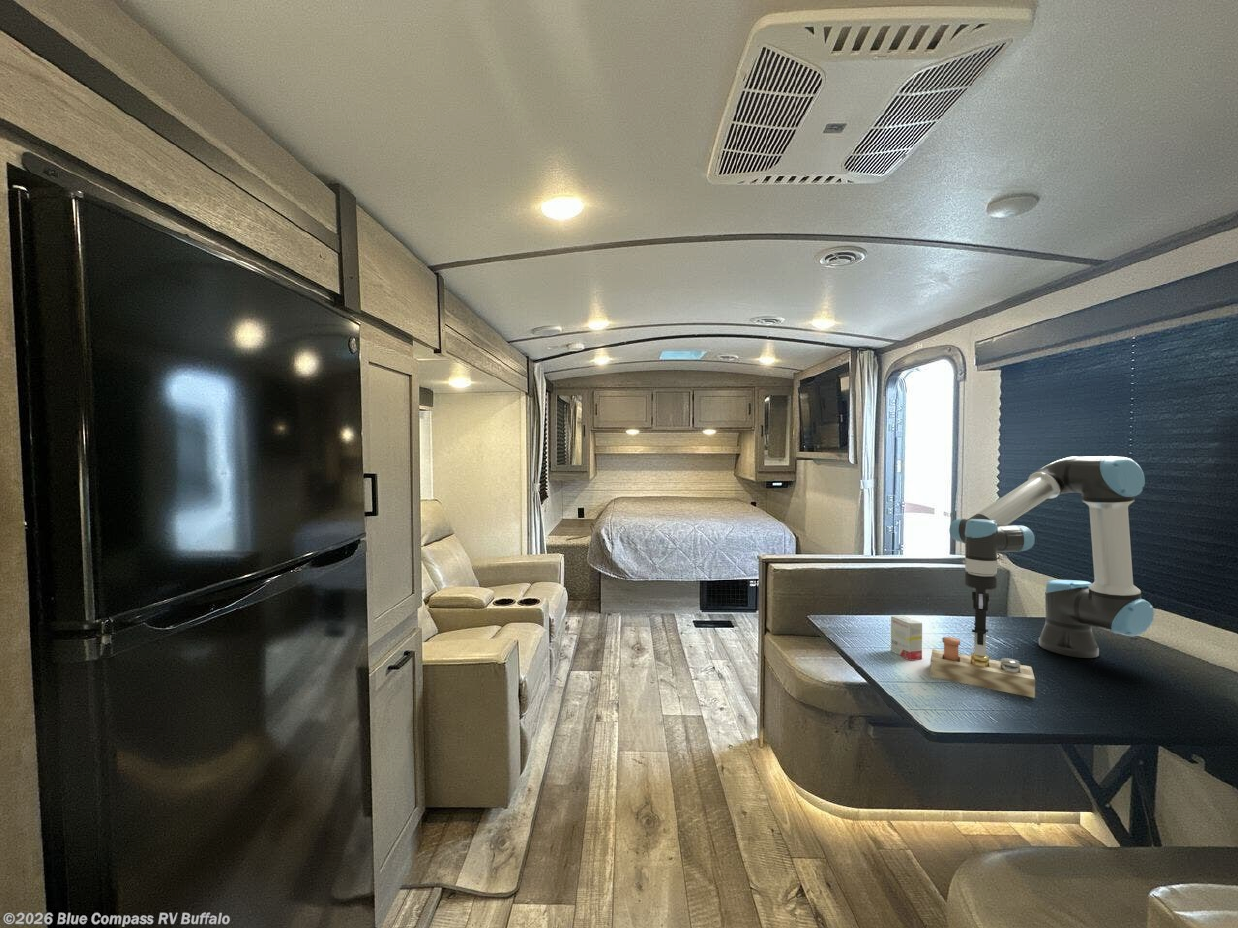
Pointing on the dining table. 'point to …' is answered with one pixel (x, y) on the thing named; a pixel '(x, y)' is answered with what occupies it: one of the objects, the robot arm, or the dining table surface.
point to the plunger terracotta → (951, 648)
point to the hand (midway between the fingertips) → (979, 654)
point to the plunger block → (983, 674)
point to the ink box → (906, 637)
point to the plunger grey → (1010, 665)
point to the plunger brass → (980, 660)
